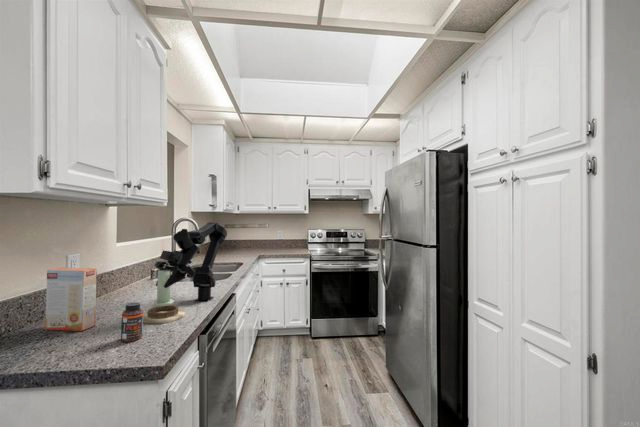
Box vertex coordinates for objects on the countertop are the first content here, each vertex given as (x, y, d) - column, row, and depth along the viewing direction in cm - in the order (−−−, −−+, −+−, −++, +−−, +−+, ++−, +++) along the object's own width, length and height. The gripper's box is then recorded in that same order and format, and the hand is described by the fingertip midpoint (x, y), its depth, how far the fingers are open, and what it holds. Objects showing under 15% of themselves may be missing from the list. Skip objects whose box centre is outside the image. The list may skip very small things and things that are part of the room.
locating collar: (158, 309, 126) (158, 302, 126) (193, 311, 123) (193, 304, 124) (129, 322, 110) (129, 314, 110) (168, 325, 108) (169, 317, 108)
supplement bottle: (124, 344, 91) (125, 307, 91) (117, 339, 95) (118, 304, 95) (145, 338, 96) (146, 303, 96) (138, 333, 99) (138, 300, 100)
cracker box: (96, 325, 106) (97, 267, 107) (81, 332, 100) (82, 270, 101) (61, 324, 108) (62, 266, 108) (44, 330, 102) (46, 269, 102)
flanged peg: (158, 301, 120) (158, 269, 120) (176, 301, 121) (176, 269, 121) (150, 306, 113) (151, 272, 113) (169, 306, 114) (170, 272, 114)
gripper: (159, 242, 125) (132, 272, 115) (189, 244, 116) (162, 277, 106) (175, 258, 132) (151, 288, 122) (204, 261, 123) (181, 294, 113)
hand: (160, 286), depth 116 cm, fingers closed on flanged peg, 5 cm apart
